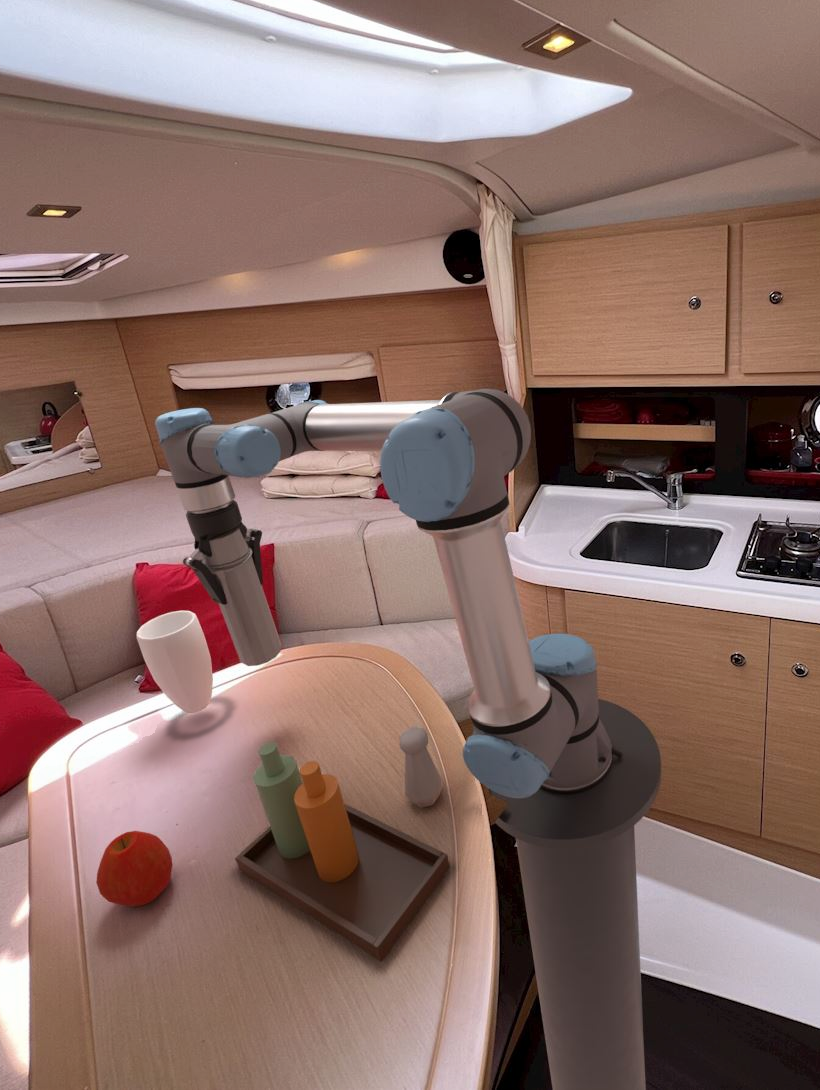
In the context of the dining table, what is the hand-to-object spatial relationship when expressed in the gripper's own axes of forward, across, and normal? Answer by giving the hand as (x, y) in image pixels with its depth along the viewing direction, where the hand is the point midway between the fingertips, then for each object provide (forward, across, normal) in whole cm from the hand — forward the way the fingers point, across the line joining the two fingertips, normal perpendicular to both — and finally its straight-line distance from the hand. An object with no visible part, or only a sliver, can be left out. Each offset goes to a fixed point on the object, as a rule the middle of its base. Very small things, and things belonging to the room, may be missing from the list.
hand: (251, 628), depth 106 cm
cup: (+22, +5, -18) cm, 28 cm away
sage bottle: (+21, +16, +24) cm, 36 cm away
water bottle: (+7, 0, 0) cm, 7 cm away
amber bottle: (+22, +16, +33) cm, 42 cm away
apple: (+22, +31, +10) cm, 39 cm away
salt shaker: (+22, +1, +36) cm, 43 cm away
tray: (+22, +16, +34) cm, 43 cm away
